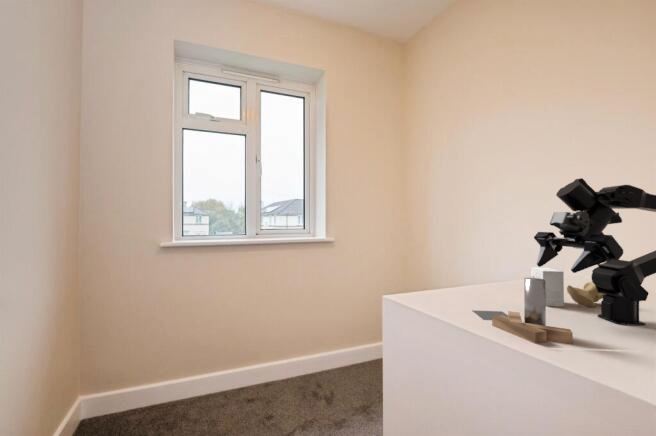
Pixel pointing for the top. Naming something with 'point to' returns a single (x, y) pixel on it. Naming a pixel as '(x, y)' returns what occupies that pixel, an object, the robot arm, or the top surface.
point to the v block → (531, 329)
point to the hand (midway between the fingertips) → (554, 268)
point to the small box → (551, 285)
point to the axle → (535, 301)
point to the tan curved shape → (585, 294)
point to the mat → (489, 314)
